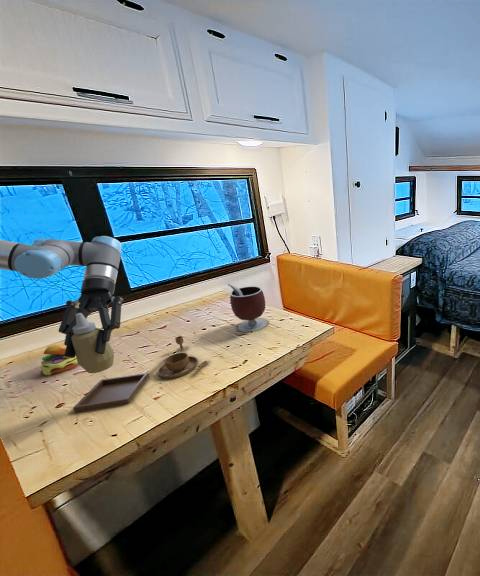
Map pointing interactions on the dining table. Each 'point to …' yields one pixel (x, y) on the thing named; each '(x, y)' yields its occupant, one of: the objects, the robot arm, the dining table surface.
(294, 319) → the dining table surface
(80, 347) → the squeeze bottle
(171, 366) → the place setting
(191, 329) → the dining table surface
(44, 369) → the cheeseburger
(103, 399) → the dark brown tray
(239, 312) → the mate gourd
